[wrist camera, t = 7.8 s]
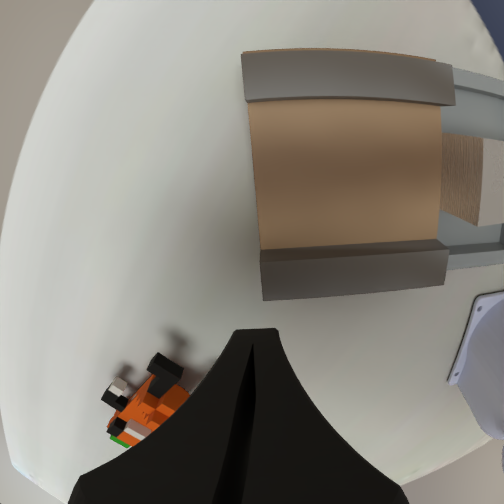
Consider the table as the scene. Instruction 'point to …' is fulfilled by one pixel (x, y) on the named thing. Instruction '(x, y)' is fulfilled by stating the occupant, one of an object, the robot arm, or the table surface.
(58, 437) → the table surface
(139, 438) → the toy
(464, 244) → the tray
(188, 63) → the table surface
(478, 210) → the grey block
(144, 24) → the table surface
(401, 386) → the table surface
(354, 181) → the slot block
